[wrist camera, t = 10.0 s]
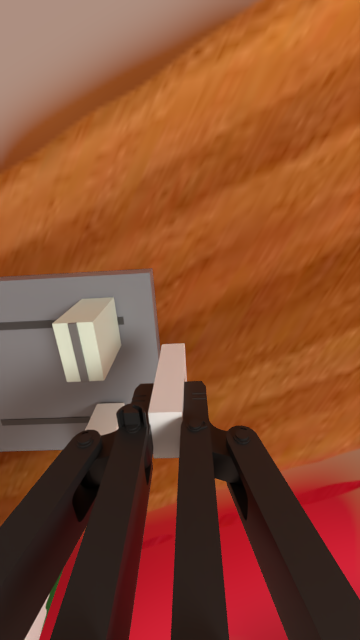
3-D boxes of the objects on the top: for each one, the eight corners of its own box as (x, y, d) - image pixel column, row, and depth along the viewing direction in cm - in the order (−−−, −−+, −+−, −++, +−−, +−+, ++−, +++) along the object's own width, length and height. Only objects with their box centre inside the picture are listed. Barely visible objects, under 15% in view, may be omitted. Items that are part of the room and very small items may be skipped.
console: (-1, 438, 35) (-11, 452, 33) (-65, 280, 27) (-84, 285, 25) (168, 434, 34) (167, 447, 32) (152, 268, 26) (149, 273, 24)
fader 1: (91, 346, 27) (66, 383, 21) (81, 298, 25) (51, 324, 19) (121, 345, 27) (103, 381, 21) (113, 297, 25) (92, 322, 19)
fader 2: (104, 438, 31) (86, 488, 26) (97, 403, 29) (75, 449, 24) (130, 437, 31) (117, 488, 26) (124, 402, 29) (109, 448, 24)
